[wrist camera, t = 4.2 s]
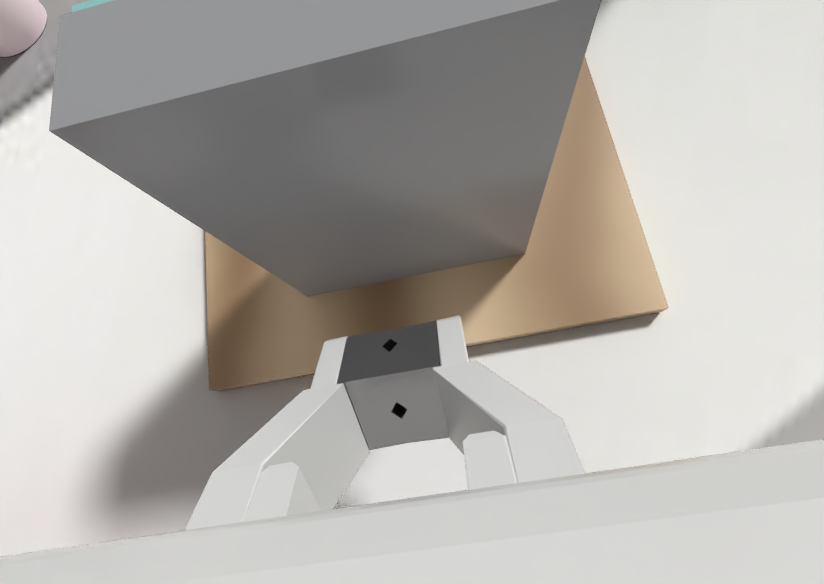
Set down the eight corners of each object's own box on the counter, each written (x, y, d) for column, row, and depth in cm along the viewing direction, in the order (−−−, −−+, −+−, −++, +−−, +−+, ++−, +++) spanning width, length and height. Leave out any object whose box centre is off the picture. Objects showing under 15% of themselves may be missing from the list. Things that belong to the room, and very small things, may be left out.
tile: (307, 296, 16) (49, 130, 6) (302, 235, 17) (62, 1, 7) (525, 253, 15) (604, -12, 6) (509, 190, 16) (556, -142, 6)
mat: (218, 390, 16) (209, 390, 16) (207, 19, 21) (199, 8, 21) (661, 311, 14) (668, 307, 14) (535, -71, 19) (537, -85, 19)
